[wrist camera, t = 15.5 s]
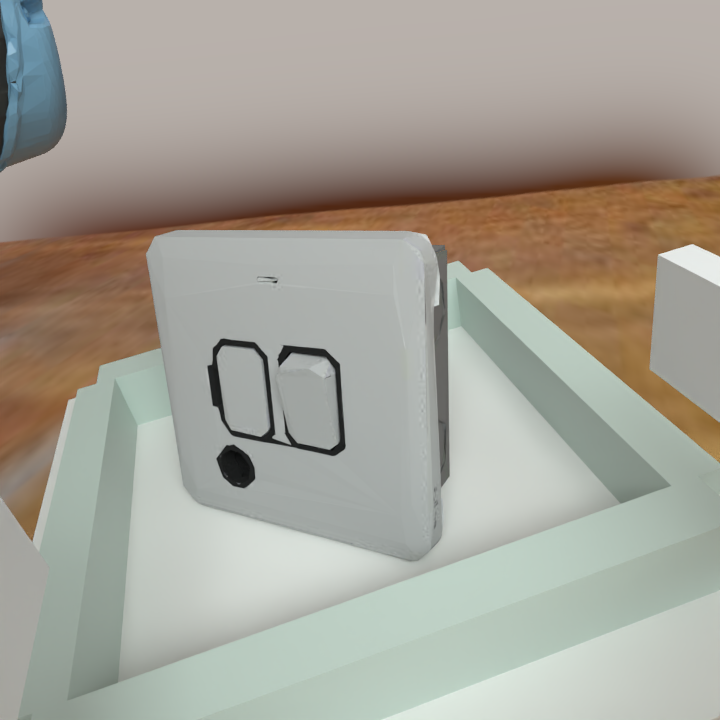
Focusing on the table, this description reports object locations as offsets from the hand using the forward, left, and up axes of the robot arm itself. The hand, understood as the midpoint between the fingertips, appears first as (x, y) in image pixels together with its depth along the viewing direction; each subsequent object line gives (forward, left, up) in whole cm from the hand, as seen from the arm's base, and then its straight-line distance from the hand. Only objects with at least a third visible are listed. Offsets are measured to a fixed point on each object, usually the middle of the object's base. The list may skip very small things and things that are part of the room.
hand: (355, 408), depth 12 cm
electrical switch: (-7, -1, -8) cm, 11 cm away
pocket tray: (-7, 0, -9) cm, 11 cm away
